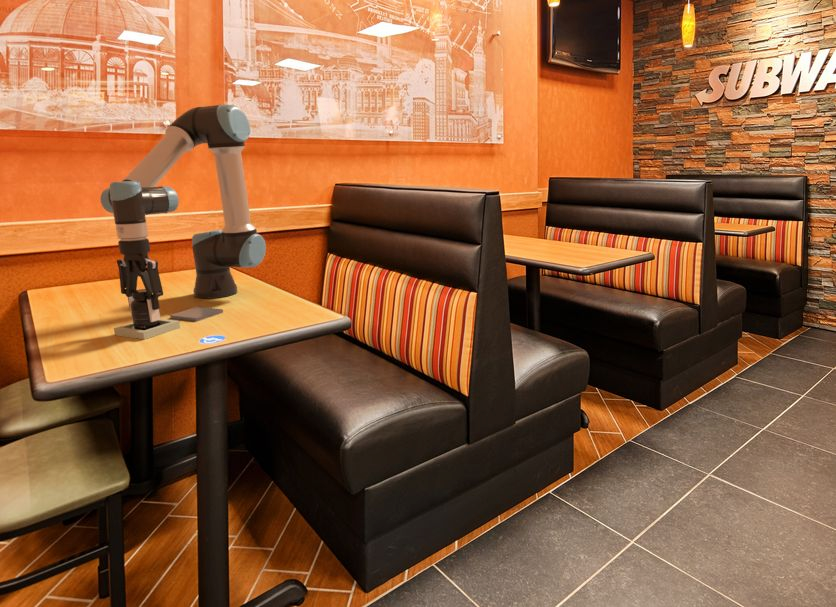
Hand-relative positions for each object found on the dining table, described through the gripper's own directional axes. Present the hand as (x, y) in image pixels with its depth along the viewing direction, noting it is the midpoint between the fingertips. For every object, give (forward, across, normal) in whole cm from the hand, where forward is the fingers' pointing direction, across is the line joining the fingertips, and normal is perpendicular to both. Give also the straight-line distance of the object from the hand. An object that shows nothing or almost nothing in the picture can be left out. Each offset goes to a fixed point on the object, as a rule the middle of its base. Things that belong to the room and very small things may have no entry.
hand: (146, 319), depth 154 cm
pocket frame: (+4, 0, 0) cm, 4 cm away
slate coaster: (+4, 0, +18) cm, 18 cm away
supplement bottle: (+4, 0, 0) cm, 4 cm away
